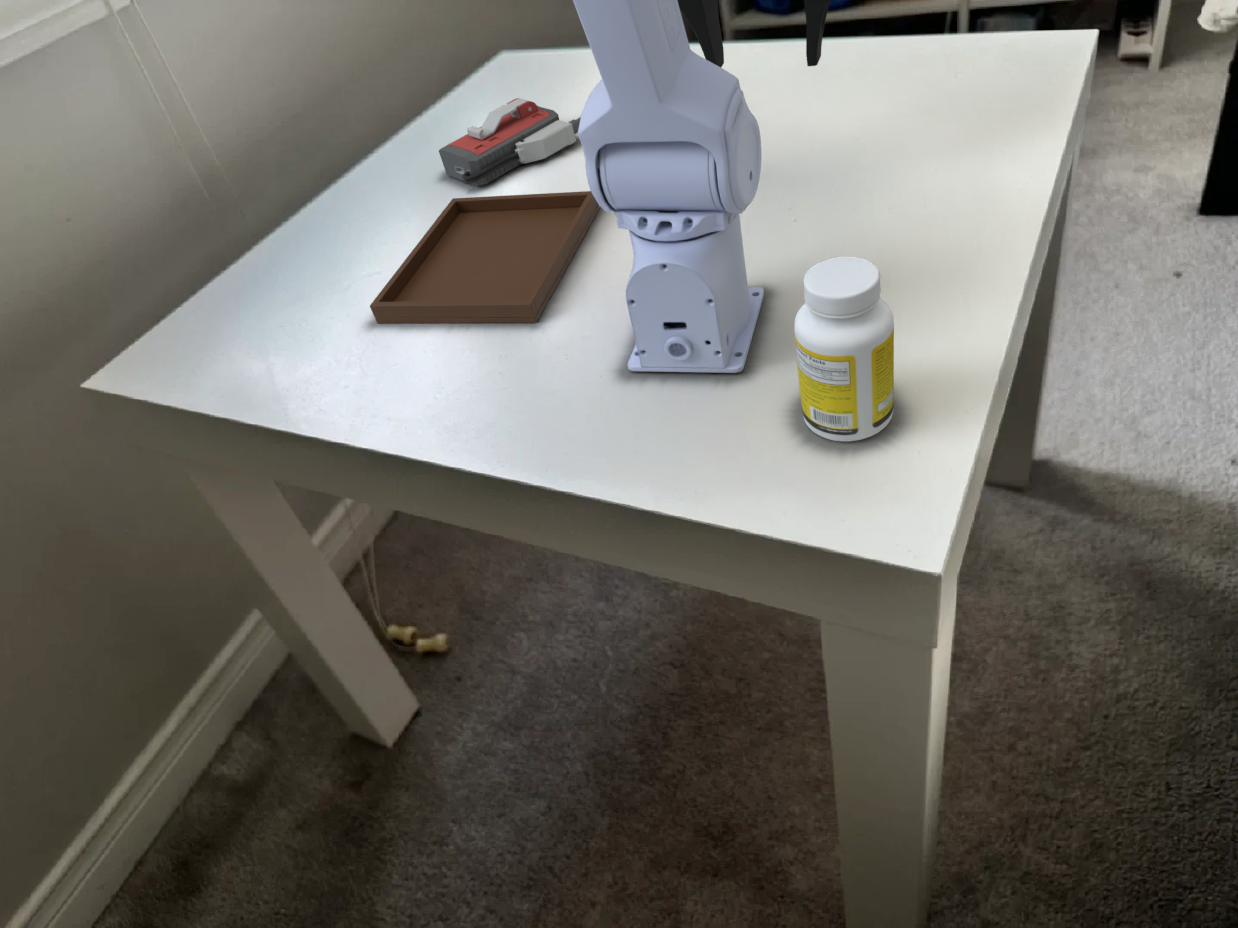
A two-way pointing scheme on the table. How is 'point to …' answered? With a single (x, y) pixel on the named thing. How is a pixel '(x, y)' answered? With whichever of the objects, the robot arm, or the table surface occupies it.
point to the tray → (488, 260)
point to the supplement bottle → (845, 350)
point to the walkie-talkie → (507, 142)
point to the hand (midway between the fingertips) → (764, 64)
